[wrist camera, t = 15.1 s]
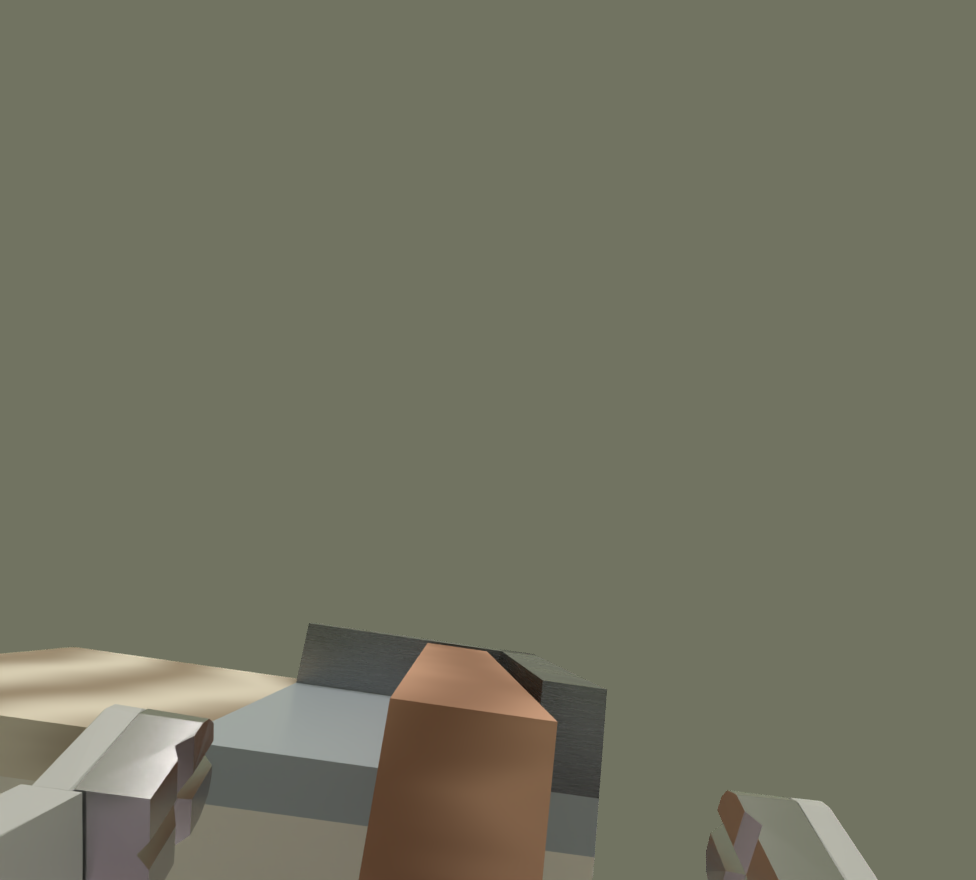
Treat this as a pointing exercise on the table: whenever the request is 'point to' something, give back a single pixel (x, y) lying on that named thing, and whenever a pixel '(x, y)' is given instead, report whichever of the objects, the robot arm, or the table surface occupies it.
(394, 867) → the rod
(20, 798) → the robot arm
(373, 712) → the lidded kitchen bin
